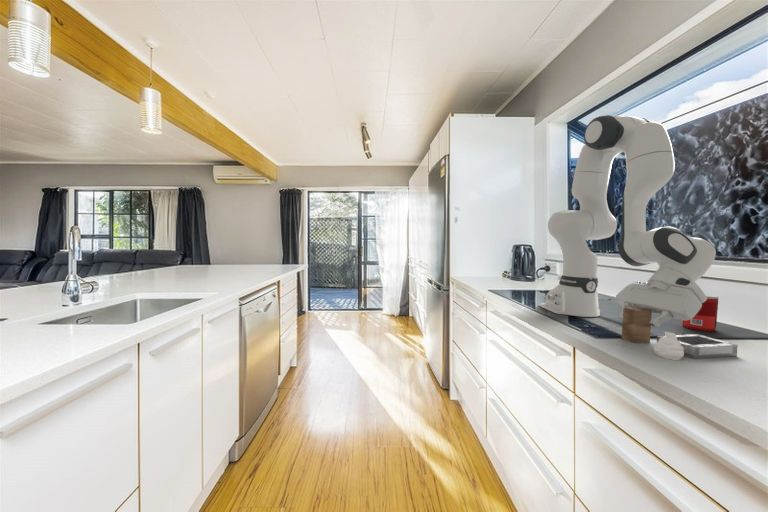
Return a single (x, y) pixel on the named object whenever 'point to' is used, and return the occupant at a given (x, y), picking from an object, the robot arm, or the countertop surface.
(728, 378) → the countertop surface
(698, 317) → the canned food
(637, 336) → the brown rectangular block
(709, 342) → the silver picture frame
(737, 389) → the countertop surface
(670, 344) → the garlic bulb
